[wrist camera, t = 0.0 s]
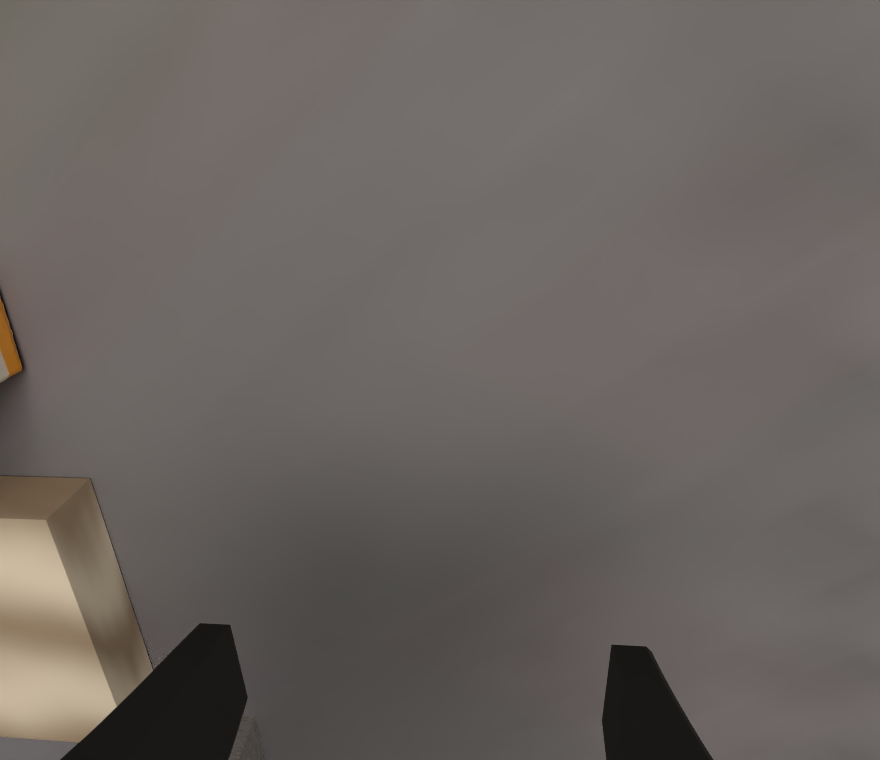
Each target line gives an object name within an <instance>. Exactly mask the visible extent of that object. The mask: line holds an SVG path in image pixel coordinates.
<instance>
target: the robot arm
mask: <svg viewBox="0 0 880 760" xmlns="http://www.w3.org/2000/svg"><path fill="white" fill-rule="evenodd" d="M247 698H248V697H247V693H246V689H245V684H244V680H243V676H242V672H241V668H240V664H239V660H238V655H237V651H236V647H235V643H234V639H233V635H232V630H231V626H230V625H221V624H202V623H200V624H199V625H198V626H197V627H196V628H195V629H194V630H193V631H192V632H191V633H190V634H189V635H188V636H187V637H186V638H185V639H184V640H183V641H182V642H181V643H180V644H179V645H178V646H177V647H176V648H175V649H174V650H173V651H172V652H171V653H170V654H169V655H168V656H167V657H166V658H165V659H164V660H163V661H162V662H161V663H160V664H159V665H158V666H157V667H156V668H155V669H154V670H153V671H152V672H151V673H150V674H149V675H148V676H147V677H146V678H145V679H144V680H143V681H142V682H141V683H140V684H139V685H138V686H137V687H136V688H135V689H134V690H133V691H132V692H131V693H130V694H129V695H128V696H127V697H126V698H125V699H124V700H123V701H122V702H121V703H120V704H119V705H118V706H117V707H116V708H115V709H114V710H113V711H112V712H111V713H110V714H109V715H108V716H107V717H106V718H105V719H104V720H103V721H102V722H101V723H100V724H98V725H97V726H96V727H95V728H94V729H93V730H92V731H91V732H90V733H89V734H88V735H87V736H86V737H85V738H84V739H82V740H81V741H80V742H79V743H78V744H77V745H76V746H75V747H74V748H73V749H71V750H70V751H69V752H68V753H67V754H66V755H65V756H64V757H63V758H62V759H61V760H228V759H229V757H230V754H231V751H232V748H233V745H234V741H235V738H236V735H237V732H238V729H239V726H240V722H241V719H242V715H243V712H244V709H245V705H246V702H247ZM602 724H603V733H604V742H605V751H606V760H713V759H712V757H711V755H710V754H709V752H708V751H707V749H706V748H705V746H704V744H703V743H702V741H701V740H700V738H699V736H698V735H697V733H696V731H695V730H694V728H693V727H692V725H691V723H690V722H689V720H688V718H687V716H686V715H685V713H684V711H683V709H682V708H681V706H680V704H679V703H678V701H677V699H676V697H675V696H674V694H673V692H672V690H671V688H670V687H669V685H668V683H667V681H666V679H665V677H664V675H663V673H662V672H661V670H660V668H659V666H658V664H657V662H656V660H655V658H654V656H653V654H652V652H651V651H650V650H649V649H648V648H647V647H644V646H625V645H611V653H610V661H609V669H608V677H607V685H606V693H605V701H604V709H603V717H602Z"/></svg>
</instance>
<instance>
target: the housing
mask: <svg viewBox="0 0 880 760" xmlns="http://www.w3.org/2000/svg"><path fill="white" fill-rule="evenodd" d="M228 760H265V757H264V753H263V749H262V745H261V741H260V736H259V732H258V728H257V724H256V720H255V717H248V716H242V719H241V722H240V726H239V729H238V732H237V735H236V738H235V741H234V745H233V748H232V751H231V754H230V757H229V759H228Z"/></svg>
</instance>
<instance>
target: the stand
mask: <svg viewBox="0 0 880 760" xmlns="http://www.w3.org/2000/svg"><path fill="white" fill-rule="evenodd" d="M152 671H153V669H152V666H151V663H150V660H149V656H148V653H147V650H146V647H145V644H144V641H143V638H142V635H141V632H140V629H139V626H138V623H137V620H136V617H135V614H134V611H133V608H132V605H131V602H130V599H129V596H128V593H127V589H126V586H125V583H124V580H123V577H122V574H121V571H120V568H119V565H118V562H117V559H116V556H115V553H114V550H113V547H112V544H111V541H110V538H109V535H108V532H107V529H106V526H105V523H104V519H103V516H102V513H101V510H100V507H99V504H98V501H97V498H96V495H95V492H94V489H93V486H92V483H91V480H90V478H58V477H23V476H0V736H1V737H14V738H28V739H42V740H56V741H69V742H80V741H81V740H82V739H84V738H85V737H86V736H87V735H88V734H89V733H90V732H91V731H92V730H93V729H94V728H95V727H96V726H97V725H98V724H100V723H101V722H102V721H103V720H104V719H105V718H106V717H107V716H108V715H109V714H110V713H111V712H112V711H113V710H114V709H115V708H116V707H117V706H118V705H119V704H120V703H121V702H122V701H123V700H124V699H125V698H126V697H127V696H128V695H129V694H130V693H131V692H132V691H133V690H134V689H135V688H136V687H137V686H138V685H139V684H140V683H141V682H142V681H143V680H144V679H145V678H146V677H147V676H148V675H149V674H150V673H151V672H152Z"/></svg>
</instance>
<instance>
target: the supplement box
mask: <svg viewBox="0 0 880 760" xmlns="http://www.w3.org/2000/svg"><path fill="white" fill-rule="evenodd" d="M21 370H22V365H21V361H20V359H19V355H18V351H17V348H16V344H15V342H14V339H13V332H12V330H11V328H10V325H9V321H8V318H7V315H6V312H5V309H4V304H3V302H2V301H1V297H0V383H1V382H3V381H4V380H6V379H7V378H9V377H11V376H13V375H14V374H16V373H18V372H20V371H21Z"/></svg>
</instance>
